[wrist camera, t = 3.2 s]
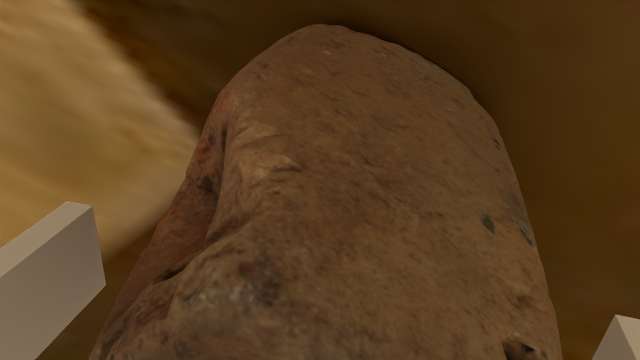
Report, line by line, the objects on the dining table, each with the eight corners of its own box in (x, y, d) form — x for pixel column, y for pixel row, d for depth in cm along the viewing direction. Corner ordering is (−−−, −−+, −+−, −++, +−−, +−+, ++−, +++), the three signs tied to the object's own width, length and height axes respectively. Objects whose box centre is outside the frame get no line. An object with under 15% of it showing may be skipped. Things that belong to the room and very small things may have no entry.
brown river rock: (505, 103, 24) (698, 540, 7) (419, 205, 28) (399, 658, 10) (325, -13, 23) (14, 136, 6) (261, 108, 27) (-45, 418, 10)
